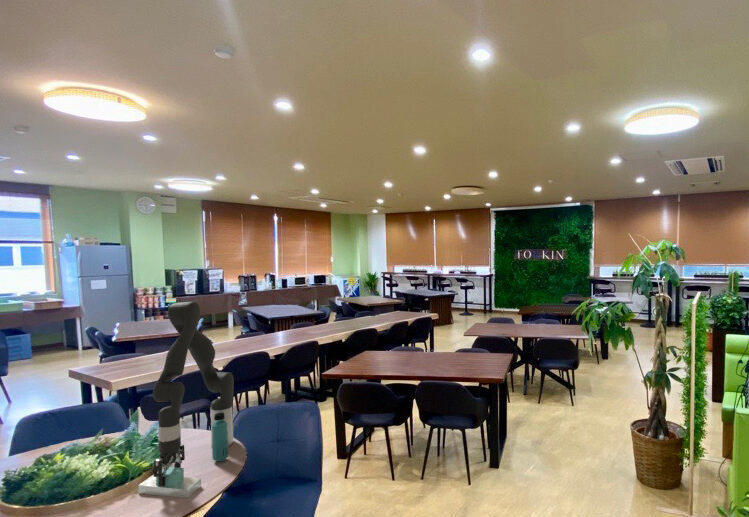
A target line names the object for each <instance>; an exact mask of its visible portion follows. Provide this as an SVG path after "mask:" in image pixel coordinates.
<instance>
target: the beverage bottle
mask: <svg viewBox="0 0 749 517" xmlns="http://www.w3.org/2000/svg"><path fill="white" fill-rule="evenodd" d="M224 418H225V416H224V413H216V414H215V417H214V420H218V421H215V422H214V423H213V424H212V446H211V453H212V454H211V456H212V460H213V461H214V462H217V461H219V462H220V461H224V460H226V459H227V458H228V457H229V446H228V431H227V422H226V421H224V420H223V419H224Z"/></svg>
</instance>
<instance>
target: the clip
mask: <svg viewBox="0 0 749 517" xmlns="http://www.w3.org/2000/svg"><path fill="white" fill-rule="evenodd" d="M184 470H185V469H184V467H181V468H176V467H174V466H173V467H172V466H169V469H168V470H167V471H166V474H165V478H166V485H168V486H176V485H177V484H178V483H179V482H180V481H182V480H183V479H184V477H185V475H184V474H185V472H184ZM163 471H164V469H163V470H162V473H163ZM157 473H158V471H157ZM156 484H157V485H158V477H156Z"/></svg>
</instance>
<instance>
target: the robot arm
mask: <svg viewBox="0 0 749 517" xmlns="http://www.w3.org/2000/svg"><path fill="white" fill-rule="evenodd" d="M167 316H168V319H169V322H170V323H171V325H172V326H173V327H174V329H175V330H176V331H177V333H178V337H177V338H176V340H175V341H174V343H172V345H171V346H170V348H169V349H168V351H167V353H166V358H165V361H164V366H163V369H162V372H161V374H160V376H159V377H158V379H157V381H156V383H155V386H153V389H152V397H153V399H154V401H155V402H157V403H158V402H159V403H165V402H166V403H167V402H171V405H169V406H166V407H163V408H161V409H160V410H158V411H159V412H158V430H157V443H158V444H157V446H158V447H157V449H158V452H159V453H160V457H159V458H158V459H156V458H155V459H154V460H153V475H154V477H158V485H159V486H160V487H164V486H165V485H166V478H165V474H166V471H167V470H168V469H169V467H171V465H173V464H174V465H173V467H176V468H182V463H183V461H185V458H186V457H185V455H186V454H185V444H182V440H181V439H182V438H181V437H182V435H181V416H180V414H181V413H180V412H181V407H182V402H183V399H184V395H185V391H186V389H185V385H184V384H183V382H181V381H172V379H175V378H177V377H181V376H183V373H184V371H185V365H186V360H187V356H188V351H189V353H190V355H191V357H192V358H193V360H194V361H195V363H196V366H197V367H198V370H199V372H200V374H201V376H202V378H203V381H204V384H205V386H206V389H208V391H209V392H212V393H217V394H219V393H220V394H219V395H220V397H219V398H216V399H214V400H212V401H211V403H210V427H211V428H210V429H211V430H210V431H211V432H210V433H211V434H210V437H211V438H210V439H211V440H210V441H211V447H212V424H213V423H214V422H215V421H218V420H214V417H215V414H216V413H224V416H225V418H224V419H223V420H224V421H226V422H227V431H228V447H230V446H232V444H233V441H234V421H233V402H234V387H235V381H234V380H235V378H234V375H233V373H232V372H225V371H217V370H216V368H215V367H214V360H215V358H216V349H215V347H214V346H213V343H212V341H211V340H210V338H209V337H208V336H206V335H205V334H203V333H202V332H201V331H200V330H198V329H197V327H198V325H199V321H200V317H201V307H200V304H199V303H198V302H196V301H181V302H175V303H172V304H170V306H168V310H167ZM163 469H164V471H163V473H162V470H163ZM157 472H158V473H157Z"/></svg>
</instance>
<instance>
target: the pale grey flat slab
mask: <svg viewBox="0 0 749 517" xmlns="http://www.w3.org/2000/svg"><path fill="white" fill-rule="evenodd" d="M201 487H202V479H201V478H200V477H199V478H198V477H188V476H184V479H183V480H182V481H180V482H179V483H178V484H177V485H176V486H168V485H165V486H164V487H160V486H159V485H157V484H156V477H154V474H152V475H151V476H150V477H147V479H145V480H144V481H142V482H141V483H139V484H138V487H137V488H138V491H137V492H138V495H139V494H141V495H151V496H160V497H171V498H178V499H180V498H181V499H189V498H190V497H191V496H193V494H194V493H196V492H197V491H198V490H199V489H200V488H201Z"/></svg>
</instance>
